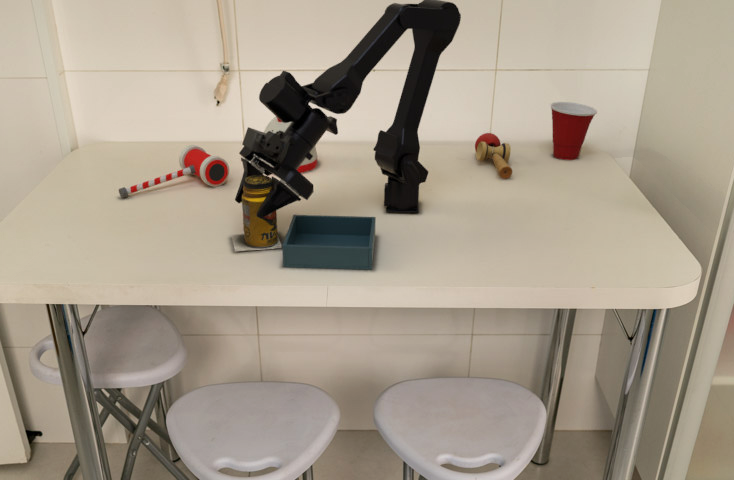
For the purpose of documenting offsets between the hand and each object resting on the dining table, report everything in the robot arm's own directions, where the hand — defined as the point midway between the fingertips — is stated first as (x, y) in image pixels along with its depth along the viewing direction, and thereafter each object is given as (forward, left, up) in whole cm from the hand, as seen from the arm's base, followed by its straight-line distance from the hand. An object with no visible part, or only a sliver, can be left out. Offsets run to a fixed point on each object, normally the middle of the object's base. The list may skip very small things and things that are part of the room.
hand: (247, 209), depth 139 cm
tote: (-15, +2, -7) cm, 17 cm away
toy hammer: (+20, -30, -7) cm, 37 cm away
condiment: (-1, -1, -7) cm, 7 cm away
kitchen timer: (-1, -46, -7) cm, 47 cm away
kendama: (-49, -48, -7) cm, 69 cm away
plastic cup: (-67, -57, -7) cm, 88 cm away
